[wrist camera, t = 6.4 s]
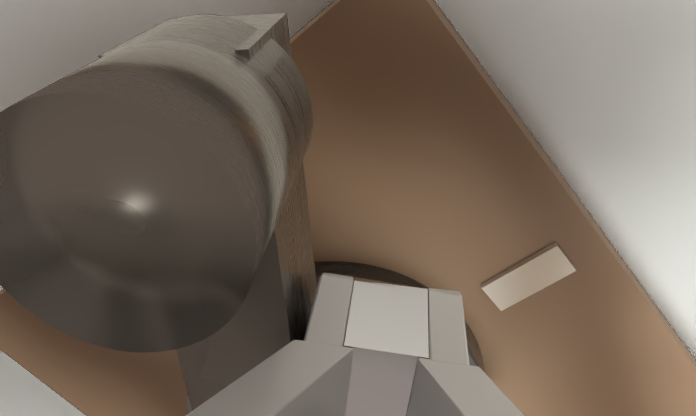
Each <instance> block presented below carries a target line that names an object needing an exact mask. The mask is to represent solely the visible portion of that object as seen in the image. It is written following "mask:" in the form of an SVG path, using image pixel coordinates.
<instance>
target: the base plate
mask: <svg viewBox="0 0 696 416" xmlns="http://www.w3.org/2000/svg"><path fill="white" fill-rule="evenodd" d="M290 48H291V57H292V60H293V62H294V63H295V65H296V66H297V68H298V69H299V71H300V73H301V75H302V77H303V79H304V81H305V84H306V86H307V89H308V92H309V95H310V99H311V105H312V113H313V126H312V135H311V139H310V143H309V146H308V149H307V151H306V154H305V156H304V158H303V165H304V174H305V183H306V192H307V201H308V210H309V219H310V228H311V237H312V246H313V255H314V262H320V261H344V262H357V263H362V264H368V265H373V266H378V267H381V268H385V269H388V270H391V271H394V272H397V273H400V274H402V275H404V276H407V277H409V278H411V279H414V280H416V281H417V282H419V283H421V284H423V285H424V286H426V287H428V288H434V289H443V290H452V291H459V292H460V293H461V295H462V300H463V309H464V318H465V322H466V323H467V324H468V325H469V327H470V329H471V331H472V332H473V334H474V336H475V338H476V340H477V342H478V345H479V347H480V350H481V353H482V357H483V363H484V368H485V373H486V375H487V376H488V377H489V378H490V379H491V380H492V381H493V382H494V383H495V384H496V385H497V387H498V388H499V389H500V390H501V391H502V392H503V393H504V394H505V395H506V396H507V397H508V398H509V400H510V401H511V402H512V403H513V404H514V405H515V406H516V407H517V408H518V409H519V410H520V411H521V413H522V414H523V415H524V416H696V360H695V358H694V357H693V356H692V354H691V353H690V351H689V350H688V349H687V347H686V346H685V345H684V343H683V342H682V340H681V339H680V338H679V336H678V335H677V334H676V332H675V331H674V329H673V328H672V327H671V325H670V324H669V323H668V321H667V320H666V318H665V317H664V316H663V314H662V313H661V312H660V310H659V309H658V307H657V306H656V305H655V303H654V302H653V301H652V299H651V298H650V296H649V295H648V294H647V292H646V291H645V290H644V288H643V287H642V285H641V284H640V283H639V281H638V280H637V279H636V277H635V276H634V274H633V273H632V272H631V270H630V269H629V268H628V266H627V265H626V263H625V262H624V261H623V259H622V258H621V257H620V255H619V254H618V252H617V251H616V250H615V248H614V247H613V246H612V244H611V243H610V241H609V240H608V239H607V237H606V236H605V235H604V233H603V232H602V230H601V229H600V228H599V226H598V225H597V223H596V222H595V221H594V219H593V218H592V217H591V215H590V214H589V212H588V211H587V210H586V208H585V207H584V206H583V204H582V203H581V201H580V200H579V199H578V197H577V196H576V195H575V193H574V192H573V190H572V189H571V188H570V186H569V185H568V184H567V182H566V181H565V179H564V178H563V177H562V175H561V174H560V173H559V171H558V170H557V168H556V167H555V166H554V164H553V163H552V162H551V160H550V159H549V157H548V156H547V155H546V153H545V152H544V151H543V149H542V148H541V146H540V145H539V144H538V142H537V141H536V140H535V138H534V137H533V135H532V134H531V133H530V131H529V130H528V129H527V127H526V126H525V124H524V123H523V122H522V120H521V119H520V118H519V116H518V115H517V113H516V112H515V111H514V109H513V108H512V107H511V105H510V104H509V102H508V101H507V100H506V98H505V97H504V96H503V94H502V93H501V91H500V90H499V89H498V87H497V86H496V85H495V83H494V82H493V80H492V79H491V78H490V76H489V75H488V74H487V72H486V71H485V69H484V68H483V67H482V65H481V64H480V63H479V61H478V60H477V58H476V57H475V56H474V54H473V53H472V52H471V50H470V49H469V47H468V46H467V45H466V43H465V42H464V40H463V39H462V38H461V36H460V35H459V34H458V32H457V31H456V29H455V28H454V27H453V25H452V24H451V23H450V21H449V20H448V18H447V17H446V16H445V14H444V13H443V12H442V10H441V9H440V7H439V6H438V5H437V3H436V2H435V1H434V0H334V1H333V2H332V3H331V4H330V5H328V6H327V7H326V8H325V9H324V10H323V11H322V12H320V13H319V14H318V15H317V16H316V17H315V18H314V19H312V20H311V21H310V22H309V23H308V24H307V25H306V26H304V27H303V28H302V29H301V30H300V31H299V32H297V33H296V34H295V35H294V36H293V37H292V38H291V39H290ZM0 350H1V351H3V352H4V353H5V354H7V355H8V356H9V357H11V358H12V359H13V360H14V361H16V362H17V363H18V364H20V365H21V366H22V367H24V368H25V369H26V370H27V371H29V372H30V373H31V374H33V375H34V376H35V377H37V378H38V379H39V380H40V381H42V382H43V383H44V384H46V385H47V386H48V387H50V388H51V389H52V390H53V391H55V392H56V393H57V394H59V395H60V396H61V397H63V398H64V399H65V400H66V401H68V402H69V403H70V404H72V405H73V406H74V407H76V408H77V409H78V410H80V411H81V412H82V413H83V414H85V415H86V416H186V415H187V414H189V412H188V405H187V402H188V392H187V389H186V385H185V381H184V377H183V374H182V370H181V366H180V362H179V358H178V355H177V351H176V350H170V351H163V352H147V353H140V352H126V351H120V350H114V349H108V348H105V347H101V346H97V345H93V344H90V343H88V342H85V341H82V340H79V339H77V338H74V337H72V336H70V335H68V334H66V333H64V332H62V331H59V330H57V329H56V328H54V327H52V326H51V325H49V324H47V323H46V322H44V321H42V320H41V319H39V318H38V317H37V316H35V315H34V314H32V313H31V312H30V311H28V310H27V309H26V308H24V307H23V306H22V305H21V304H20V303H19V302H17V301H16V300H15V299H14V298H13V297H12V296H11V295H10V294H9V293H8V292H7V291H6V290H5V289H3V290H2V291H1V292H0Z"/></svg>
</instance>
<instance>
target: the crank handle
mask: <svg viewBox="0 0 696 416" xmlns="http://www.w3.org/2000/svg"><path fill="white" fill-rule="evenodd" d="M312 126H313V113H312V105H311V99H310V95H309V92H308V89H307V86H306V84H305V81H304V79H303V77H302V75H301V73H300V71H299V69H298V68H297V66H296V65H295V63H294V62H293V60H292V57H291V48H290V39H289V30H288V21H287V13H274V14H254V15H235V16H220V15H214V14H198V15H190V16H185V17H181V18H177V19H168V20H166V21H164V22H162V23H160V24H158V25H156V26H155V27H153V28H151V29H149V30H147V31H145V32H143V33H141V34H139V35H137V36H135V37H134V38H132V39H130V40H128V41H126V42H124V43H122V44H120V45H118V46H116V47H114V48H113V49H111V50H109V51H107V52H105V53H103V54H101V55H99V59H98V60H96V61H94V62H92V63H90V64H88V65H87V66H85V67H83V68H81V69H79V70H77V71H75V72H73V73H72V74H70V75H68V76H66V77H64V78H62V79H60V80H58V81H57V82H55V83H53V84H51V85H49V86H47V87H45V88H43V89H42V90H40V91H38V92H36V93H34V94H32V95H30V96H29V97H27V98H25V99H23V100H21V101H19V102H17V103H15V104H14V105H12V106H10V107H8V108H7V109H5V110H4V111H2V112H1V113H0V285H1V286H2V287H3V288H4V289H5V290H6V291H7V292H8V293H9V294H10V295H11V296H12V297H13V298H14V299H15V300H16V301H17V302H19V303H20V304H21V305H22V306H23V307H24V308H26V309H27V310H28V311H30V312H31V313H32V314H34V315H35V316H37V317H38V318H39V319H41V320H42V321H44V322H46V323H47V324H49V325H51V326H52V327H54V328H56V329H57V330H59V331H62V332H64V333H66V334H68V335H70V336H72V337H74V338H77V339H79V340H82V341H85V342H88V343H90V344H93V345H97V346H101V347H105V348H108V349H114V350H120V351H126V352H140V353H147V352H163V351H170V350H176V351H177V355H178V358H179V362H180V366H181V370H182V374H183V377H184V381H185V385H186V389H187V392H188V396H189V400H190V404H191V408H192V411H193V410H194V409H196V408H197V407H198V406H200V405H201V404H203V403H204V402H206V401H207V400H208V399H210V398H211V397H213V396H214V395H216V394H217V393H218V392H220V391H221V390H223V389H224V388H226V387H227V386H228V385H230V384H231V383H233V382H234V381H236V380H237V379H238V378H240V377H241V376H243V375H244V374H246V373H247V372H248V371H250V370H251V369H253V368H254V367H256V366H257V365H258V364H260V363H261V362H263V361H264V360H266V359H267V358H268V357H270V356H271V355H273V354H274V353H276V352H277V351H278V350H280V349H281V348H283V347H284V346H286V345H287V344H288V343H290V342H291V341H293V340H301V341H304V338H305V334H306V330H307V326H308V322H309V318H310V314H311V310H312V306H313V302H314V298H315V295H316V291H317V282H316V273H315V264H314V255H313V246H312V237H311V228H310V219H309V210H308V201H307V192H306V183H305V174H304V165H303V158H304V156H305V154H306V151H307V149H308V146H309V143H310V139H311V135H312Z"/></svg>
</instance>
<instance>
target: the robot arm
mask: <svg viewBox="0 0 696 416" xmlns="http://www.w3.org/2000/svg"><path fill="white" fill-rule="evenodd" d="M186 416H524V415H523V414H522V413H521V411H520V410H519V409H518V408H517V407H516V406H515V405H514V404H513V403H512V402H511V401H510V400H509V398H508V397H507V396H506V395H505V394H504V393H503V392H502V391H501V390H500V389H499V388H498V387H497V385H496V384H495V383H494V382H493V381H492V380H491V379H490V378H489V377H488V376H487V375H486V373H485V372H484V371H483V370H482V369H481V368H480V367H477V366H471V365H469V356H468V347H467V337H466V328H465V318H464V309H463V300H462V295H461V293H460V292H459V291H452V290H443V289H434V288H427V289H425V288H418V287H413V286H407V285H401V284H394V283H388V282H382V281H376V280H370V279H364V278H358V277H355V281H354V278H353V277H351V276H344V275H337V274H330V273H322V275H321V276H320V279H319V283H318V287H317V291H316V295H315V298H314V302H313V306H312V310H311V314H310V318H309V322H308V326H307V330H306V334H305V338H304V341H301V340H293V341H291V342H290V343H288V344H287V345H286V346H284V347H283V348H281V349H280V350H278V351H277V352H276V353H274V354H273V355H271V356H270V357H268V358H267V359H266V360H264V361H263V362H261V363H260V364H258V365H257V366H256V367H254V368H253V369H251V370H250V371H248V372H247V373H246V374H244V375H243V376H241V377H240V378H238V379H237V380H236V381H234V382H233V383H231V384H230V385H228V386H227V387H226V388H224V389H223V390H221V391H220V392H218V393H217V394H216V395H214V396H213V397H211V398H210V399H208V400H207V401H206V402H204V403H203V404H201V405H200V406H198V407H197V408H196V409H194V410H193V411H191V412H190V413H189V414H187V415H186Z"/></svg>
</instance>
